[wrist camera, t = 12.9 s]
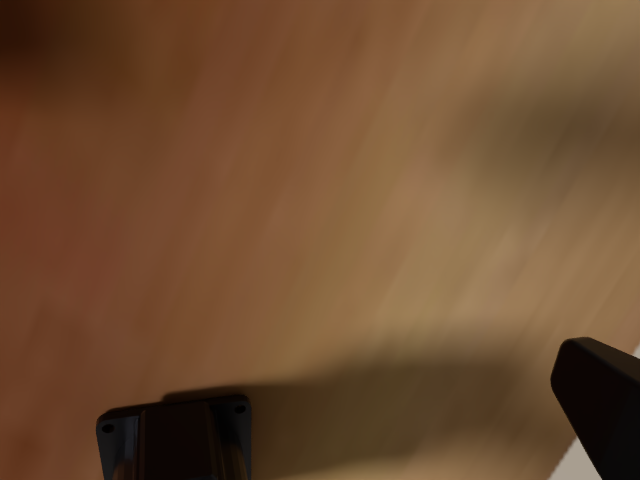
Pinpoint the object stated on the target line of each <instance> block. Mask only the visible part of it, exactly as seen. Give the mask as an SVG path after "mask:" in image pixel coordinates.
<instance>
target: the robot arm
mask: <svg viewBox="0 0 640 480" xmlns="http://www.w3.org/2000/svg"><path fill="white" fill-rule="evenodd" d="M550 382H551V387H552V390H553V392H554V394H555V396H556V398H557V400H558V402H559V403H560V405H561V407H562V409H563V411H564V413H565V414H566V416H567V418H568V420H569V422H570V424H571V425H572V427H573V429H574V431H575V433H576V435H577V436H578V438H579V440H580V442H581V444H582V446H583V447H584V449H585V451H586V452H587V454H588V456H589V458H590V460H591V462H592V463H593V465H594V467H595V468H596V471H597V472H598V474H599V475H600V477H601V478H602V480H640V359H638V358H636V357H634V356H632V355H629V354H627V353H625V352H622V351H620V350H618V349H616V348H613V347H611V346H609V345H606V344H604V343H602V342H599V341H597V340H595V339H592V338H589V337H579V338H571V339H567V340H565V341H564V342H563V343H562V344H561V346H560V348H559V351H558V355H557V358H556V361H555V364H554V367H553V370H552V373H551V378H550ZM239 405H243V406H241V407H237V406H239ZM107 424H112V426H105V425H107ZM96 435H97V441H98V446H99V452H100V458H101V463H102V469H103V475H104V480H251V404H250V400H249V398H248V397H247V396H245V395H233V396H225V397H218V398H211V399H204V400H197V401H190V402H183V403H175V404H168V405H161V406H154V407H147V408H140V409H132V410H125V411H118V412H111V413H106V414H103V415H101V416H100V417H99V418H98V419H97V424H96Z"/></svg>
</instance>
